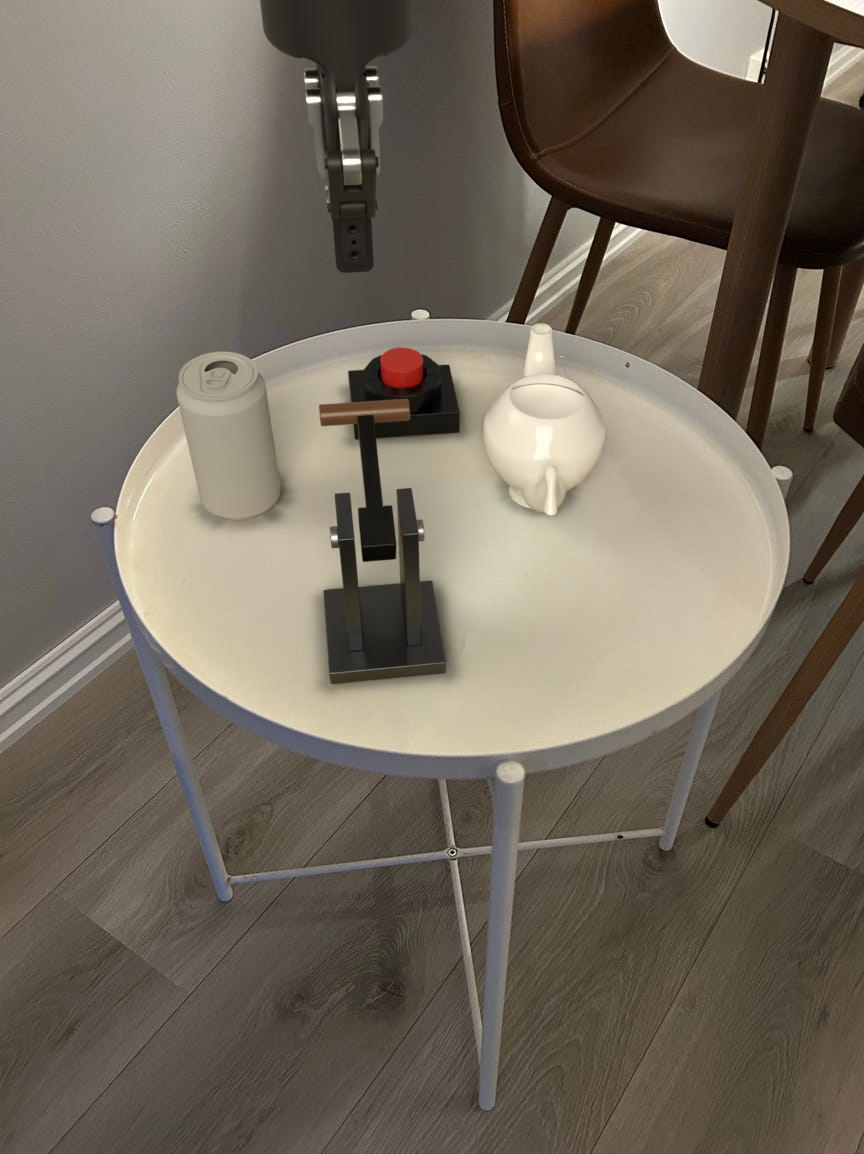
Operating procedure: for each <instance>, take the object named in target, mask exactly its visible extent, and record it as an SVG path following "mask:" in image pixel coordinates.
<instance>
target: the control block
mask: <svg viewBox="0 0 864 1154" xmlns="http://www.w3.org/2000/svg"><path fill="white" fill-rule="evenodd" d="M420 354H421V355H422V357H423V380H422V382H421V383H420V384H418V385H416V386H414V387H408V388H395V387H391V386H387V385H386V384H384V383H383V381H382V379H381V363H380V359H381V356H382V355H383V354H380V355H378V356H376V357H373V358H372V359H371V360H370V361H369V363H368V364H367V365H366V366H365V368H364V369H355V370H354V369H353V370H348V371H347V378H348V390H349V399H350V402H365V401H381V400H396V399H408V400H409V406H410V420H409V421H394V422H379V423H374V424H375V434H376V439H386V438H399V437H415V436H416V437H417V436H428V435H442V434H443V435H445V434H457V433H460V427H461V426H460V420H461V415H460V414H461V411H460V406H459V403H458V399H457V398H458V397H457V393H456V388H455V384H454V380H453V375H452V370H451V365H450V364H438V363H437V362H436V361H434V360H433V359H432V358H430V356H428V355H426V354H422V353H420ZM352 428H353V435H354V440H355V441H356V440H357V441H359V434H358V424H352Z"/></svg>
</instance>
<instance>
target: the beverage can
mask: <svg viewBox="0 0 864 1154" xmlns="http://www.w3.org/2000/svg"><path fill="white" fill-rule="evenodd" d="M176 399H177V404H178V407H179V411H180V416H181V420H182V425H183V429H184V434H185V438H186V443H187V447H188V452H189V456H190V460H191V465H192V469H193V473H194V477H195V482H196V486H197V491H198V496H199V500H200V502H201V504H202V506H203V507H204V508H205V509H206V510H207V511H208V512H209V513H210V514H213V515H215V516H217V517H220V518H223V519H226V520H232V521H246V520H250V519H254V518H255V517H257V516H259V515H261V514H264V513H265V512H266V511H268V510H269V509H271V508H272V507H273V506H274V505H275V504H276V502H277V501H278V500H279V498H280V496H281V490H282V485H281V479H280V472H279V465H278V459H277V453H276V445H275V439H274V432H273V425H272V420H271V419H272V418H271V413H270V406H269V405H270V404H269V400H268V392H267V386H266V381H265V378H264V377H263V376H262V374H261V373H259V368H258V366H257V364H256V363H255V361H253V360H252V358H250V357H248V356H246V355H244V354H241V353H237V352H232V351H213V352H207V353H204V354H201V355H199V356H198V355H197V356H196V357H194V358H192V359H190V360H189V361H188V362H186V363H185V364H184V365H183V366H182V367H181V368H180V370H179V373H178V384H177V387H176Z"/></svg>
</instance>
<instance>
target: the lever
mask: <svg viewBox="0 0 864 1154" xmlns="http://www.w3.org/2000/svg"><path fill="white" fill-rule="evenodd" d="M318 411H319V412H318V413H319V420H320V422H319V423H320V426H321V427H333V426H349V425H353V424H358V434H359V440H358V442H359V443H358V444H359V455H360V464H361V473H362V482H363V483H362V484H363V492H364V493H363V494H364V504H365V507H364V506H363V507H358V508H357V517H358V518H357V519H358V531H359V540H360V549H361V560H362V563H368V562H369V563H370V562H380V561H391V560H392V561H393V560H397V536H396V529H395V519H394V510H393V509H394V508H393V505H392V504H391V505H384V502H383V501H384V500H383V491H382V482H381V473H380V463H379V453H378V443H377V438H376V434H375V424H374V423H379V422H394V421H409V420H410V406H409V400H408V399H396V400H381V401H365V402H351V401H350V402H335V403H322V404H320V403H319V405H318Z"/></svg>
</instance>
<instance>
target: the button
mask: <svg viewBox="0 0 864 1154" xmlns="http://www.w3.org/2000/svg"><path fill="white" fill-rule="evenodd" d="M421 354H422V353H420V352H419V351H418V350H416V349H413V348H411V347H410V348H409V347H394V348H391V349H388V350H386V351H384V352H383V354H381V355H382V356H381V355H380V356H381V359H380V363H381V379H382V381H383V383H384V384H386V385H387V386H391V387H395V388H408V387H414V386H416V385H418V384H420V383H421V382H422V380H423V357H422V355H423V354H422V355H421Z"/></svg>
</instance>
